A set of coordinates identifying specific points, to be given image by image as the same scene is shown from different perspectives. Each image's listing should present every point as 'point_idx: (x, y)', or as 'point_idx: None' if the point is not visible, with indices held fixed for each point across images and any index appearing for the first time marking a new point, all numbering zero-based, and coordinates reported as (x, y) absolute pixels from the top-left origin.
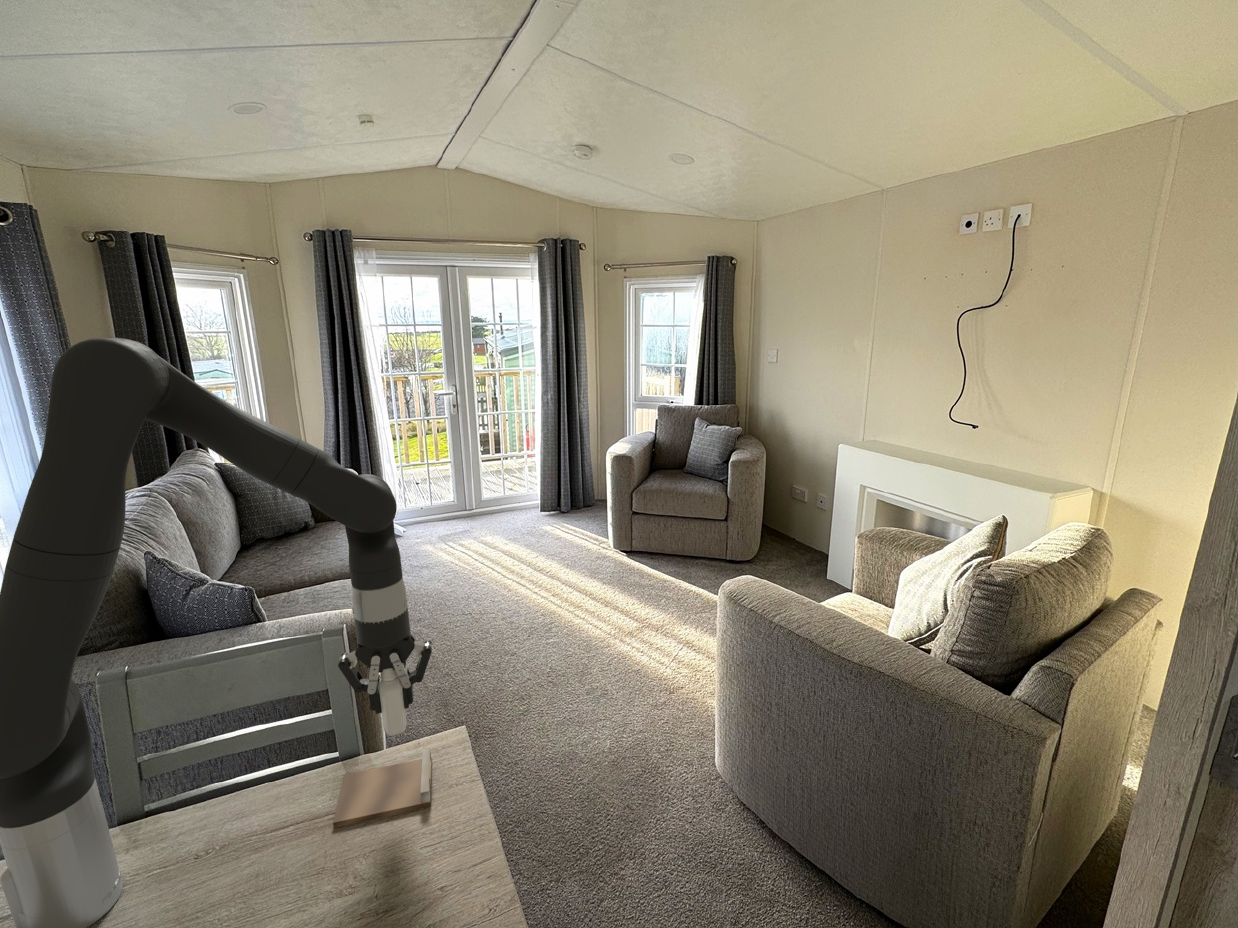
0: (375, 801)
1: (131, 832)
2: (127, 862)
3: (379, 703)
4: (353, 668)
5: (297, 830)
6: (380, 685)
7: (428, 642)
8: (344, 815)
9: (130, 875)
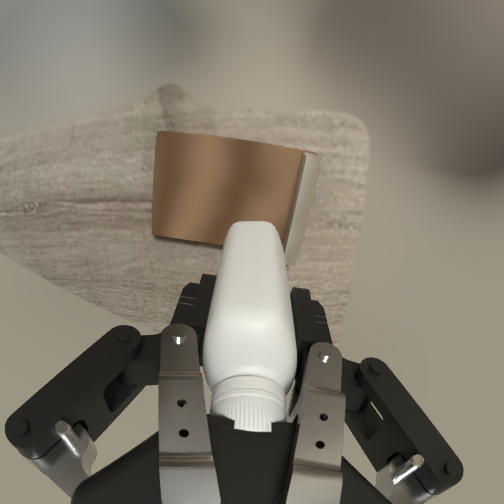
0: (211, 219)
1: None
2: None
3: None
4: (87, 425)
5: (109, 213)
6: (211, 390)
7: (443, 491)
8: (166, 227)
9: None
